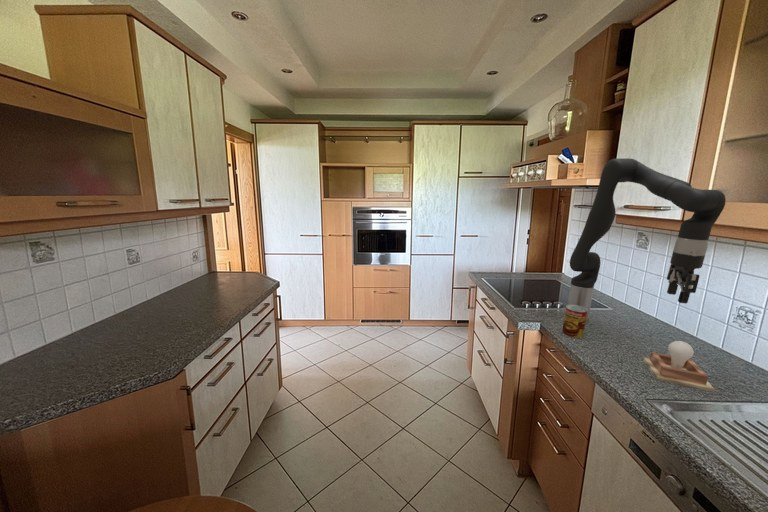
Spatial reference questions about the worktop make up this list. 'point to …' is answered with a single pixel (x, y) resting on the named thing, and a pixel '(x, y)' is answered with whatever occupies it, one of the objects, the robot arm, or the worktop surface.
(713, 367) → the worktop surface
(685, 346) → the lightbulb
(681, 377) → the socket stand
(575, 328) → the canned food
